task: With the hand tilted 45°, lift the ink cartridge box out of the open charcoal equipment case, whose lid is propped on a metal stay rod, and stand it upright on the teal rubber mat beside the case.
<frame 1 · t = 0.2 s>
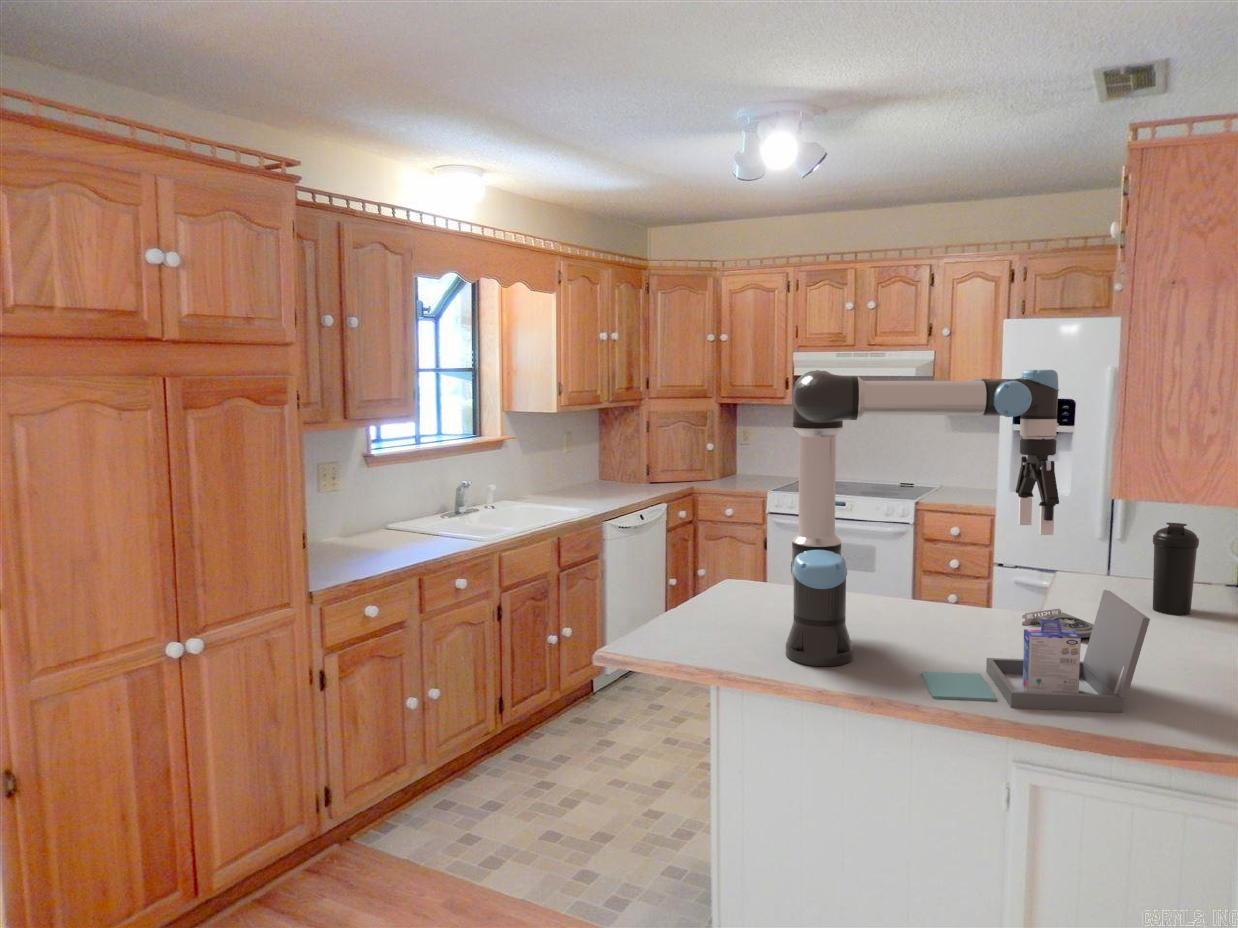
hand: (1035, 529, 204), 28 cm above the counter, tool pointing down, fingers open, 13 cm apart
teal mat: (956, 686, 183), on the counter
water bottle: (1171, 611, 233), on the counter
equipment case: (1049, 690, 180), on the counter
graphics card: (1063, 633, 218), on the counter
ink cartridge box: (1049, 691, 180), resting in equipment case
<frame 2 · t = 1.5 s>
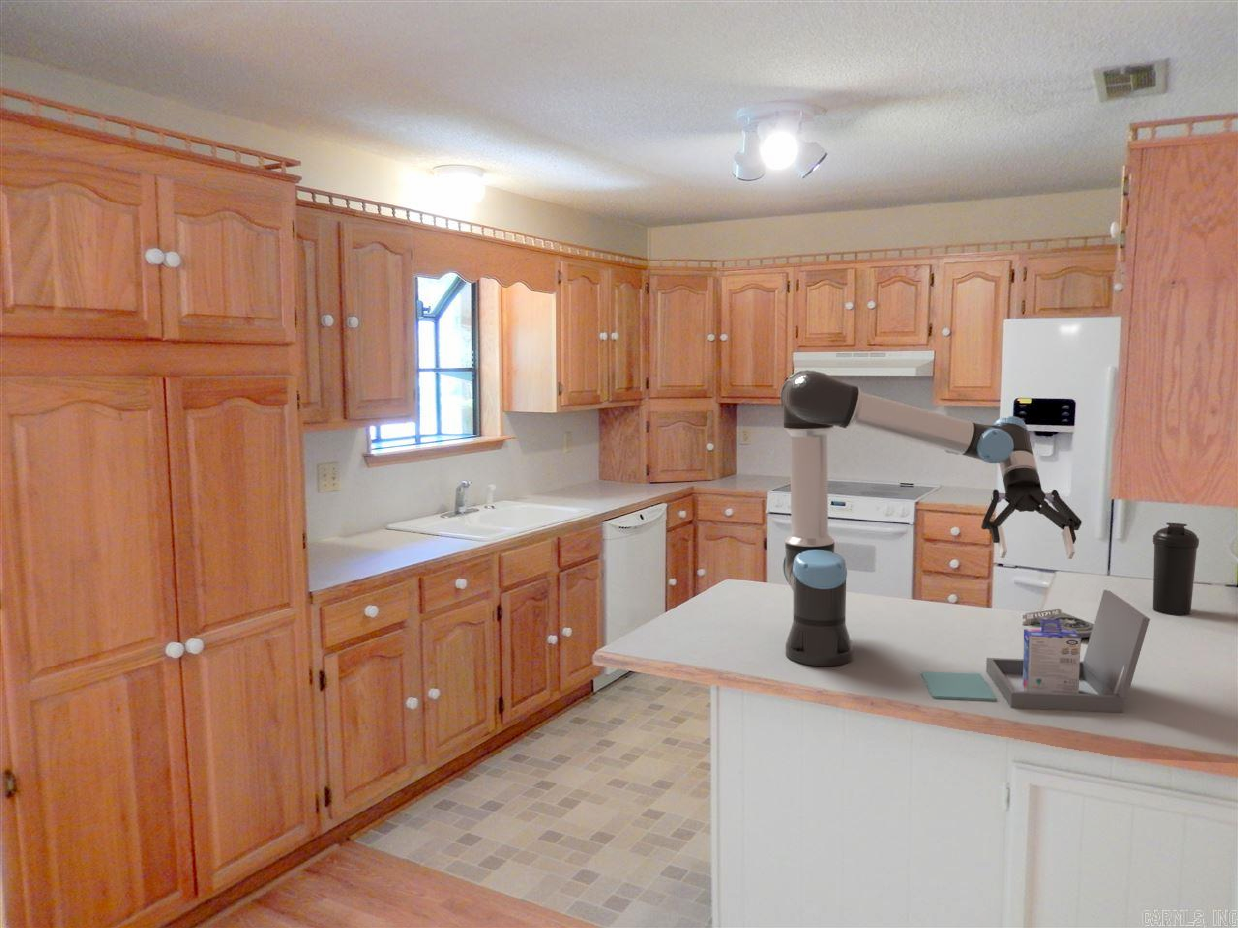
hand: (1037, 555, 189), 25 cm above the counter, tool tilted 45°, fingers open, 13 cm apart
nothing on the counter moved.
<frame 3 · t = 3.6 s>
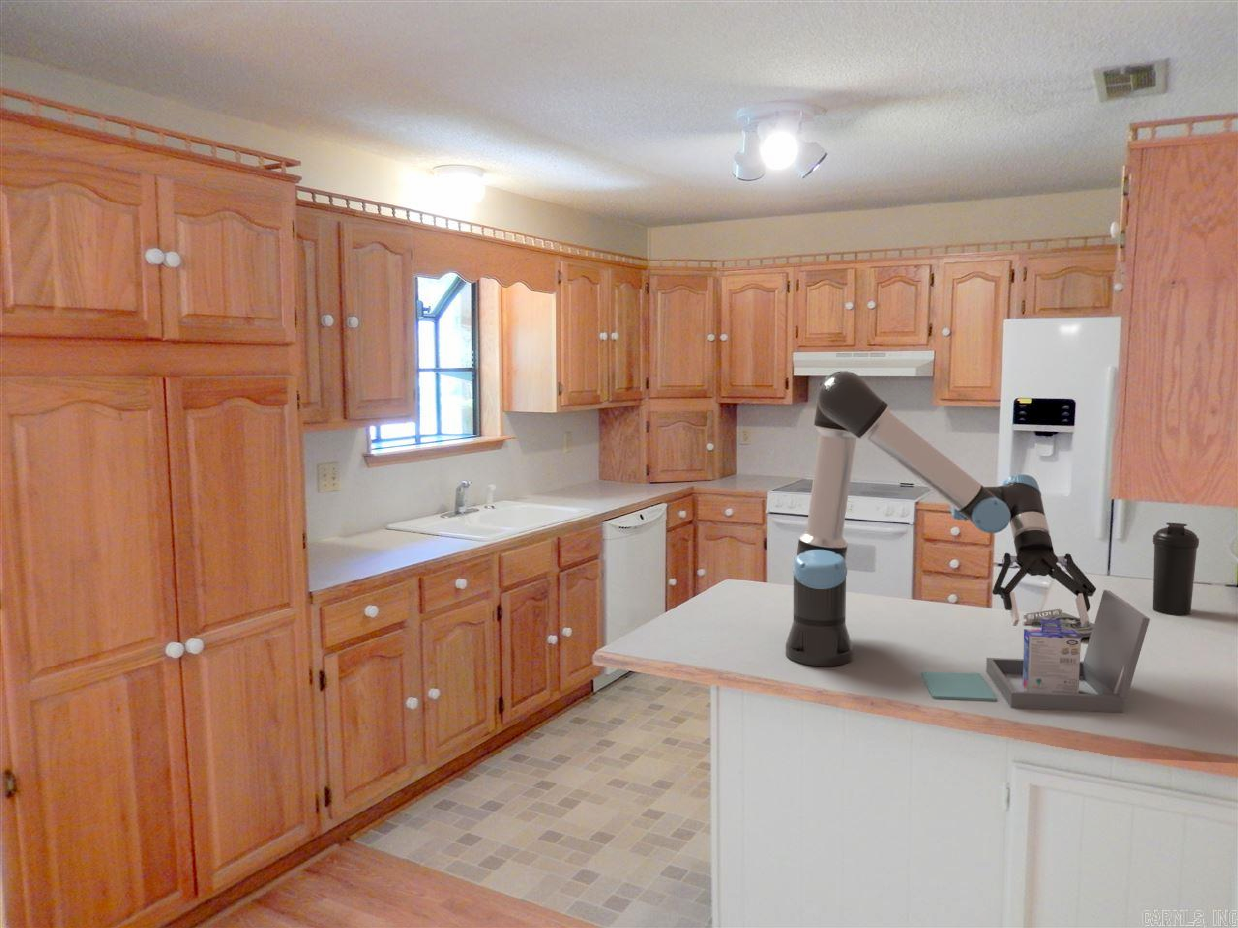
hand: (1050, 623, 184), 12 cm above the counter, tool tilted 45°, fingers open, 13 cm apart
nothing on the counter moved.
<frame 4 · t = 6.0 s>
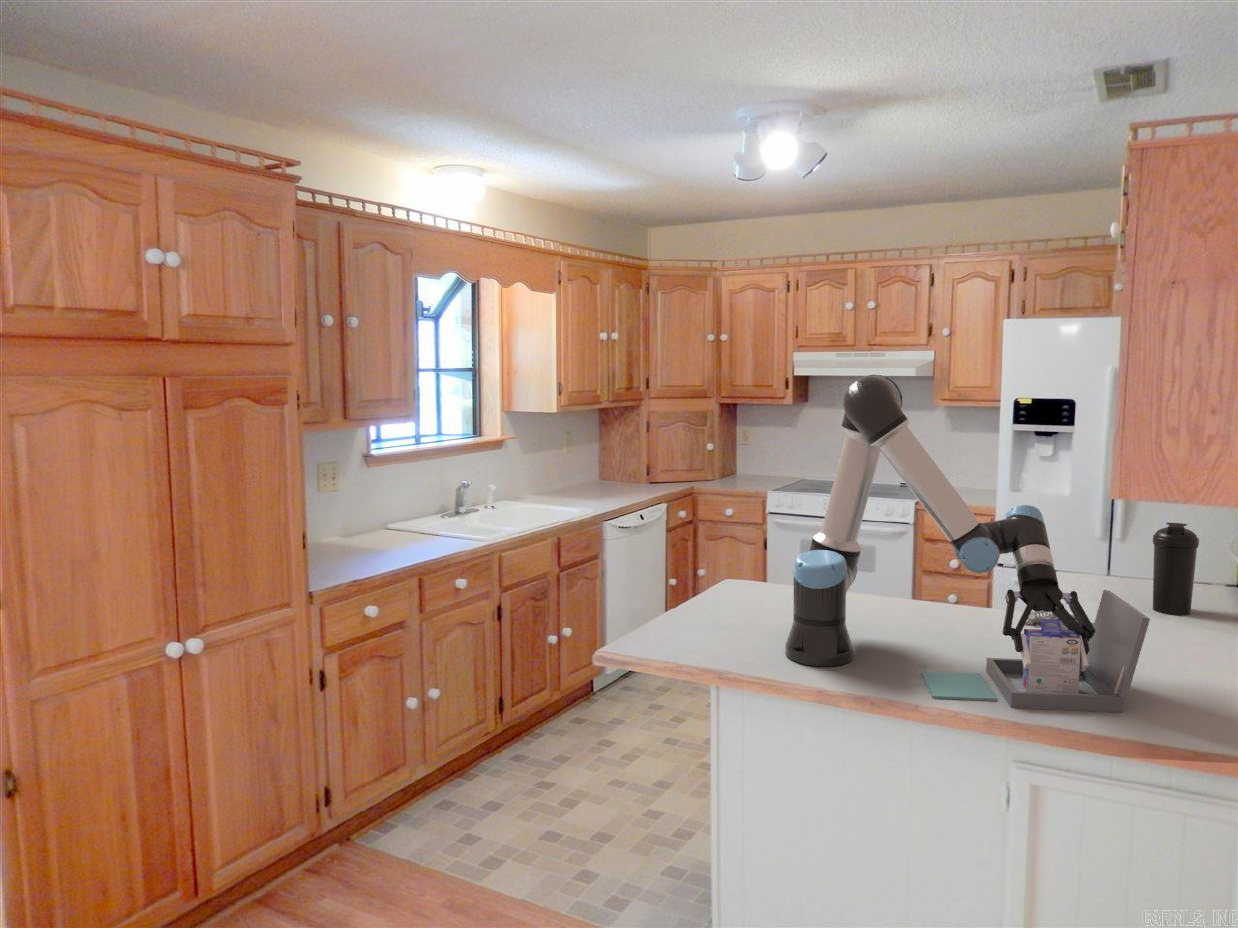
hand: (1055, 667, 176), 6 cm above the counter, tool tilted 45°, fingers closed on ink cartridge box, 10 cm apart
ink cartridge box: (1049, 691, 180), resting in equipment case, touching gripper
everything else where it was.
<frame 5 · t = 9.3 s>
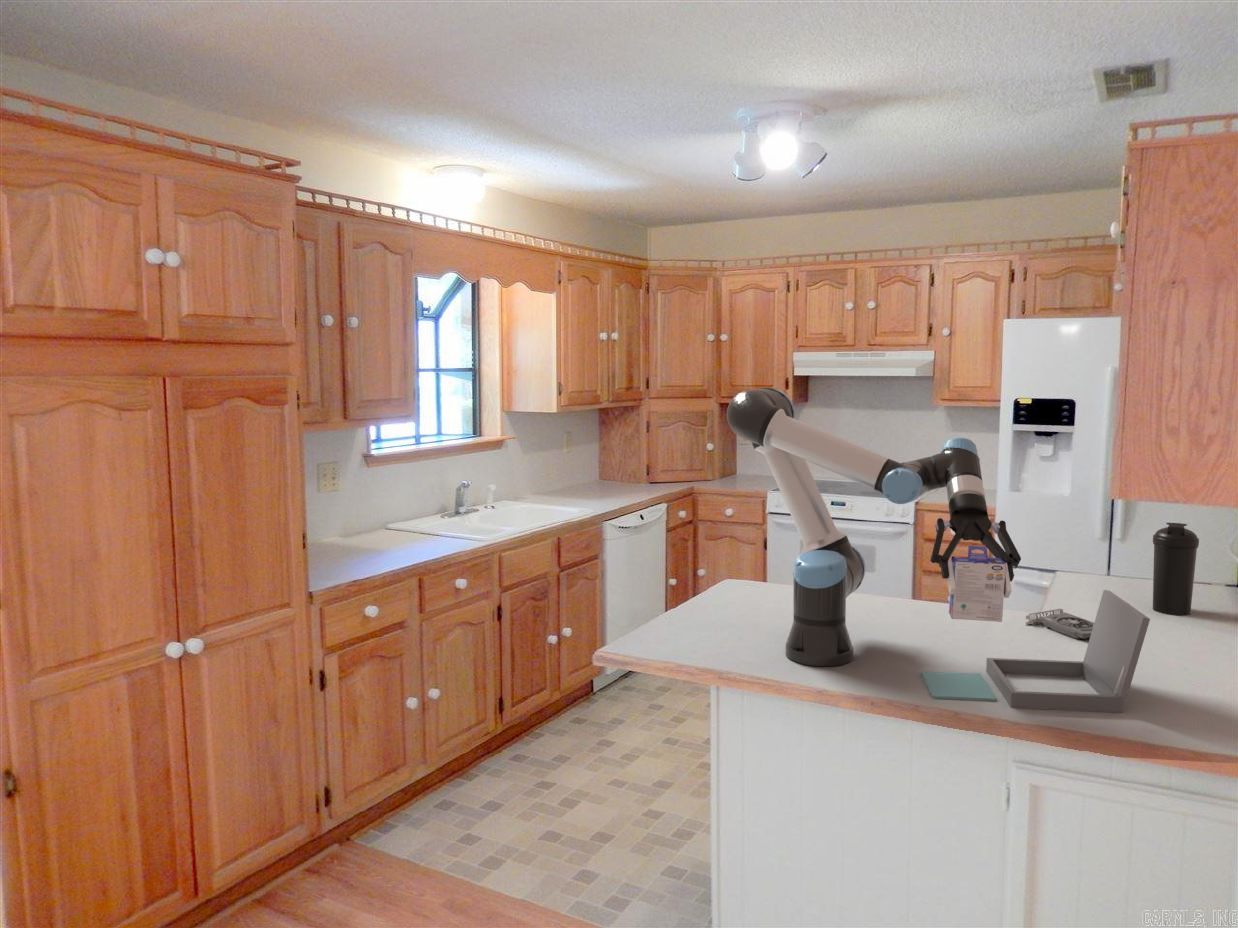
hand: (980, 593, 177), 21 cm above the counter, tool tilted 45°, fingers closed on ink cartridge box, 10 cm apart
ink cartridge box: (974, 618, 181), point 15 cm above the counter, touching gripper
everything else where it was.
when the fingers open (8 cm above the counter, at t = 12.6 s): ink cartridge box drops 1 cm, resting on teal mat.
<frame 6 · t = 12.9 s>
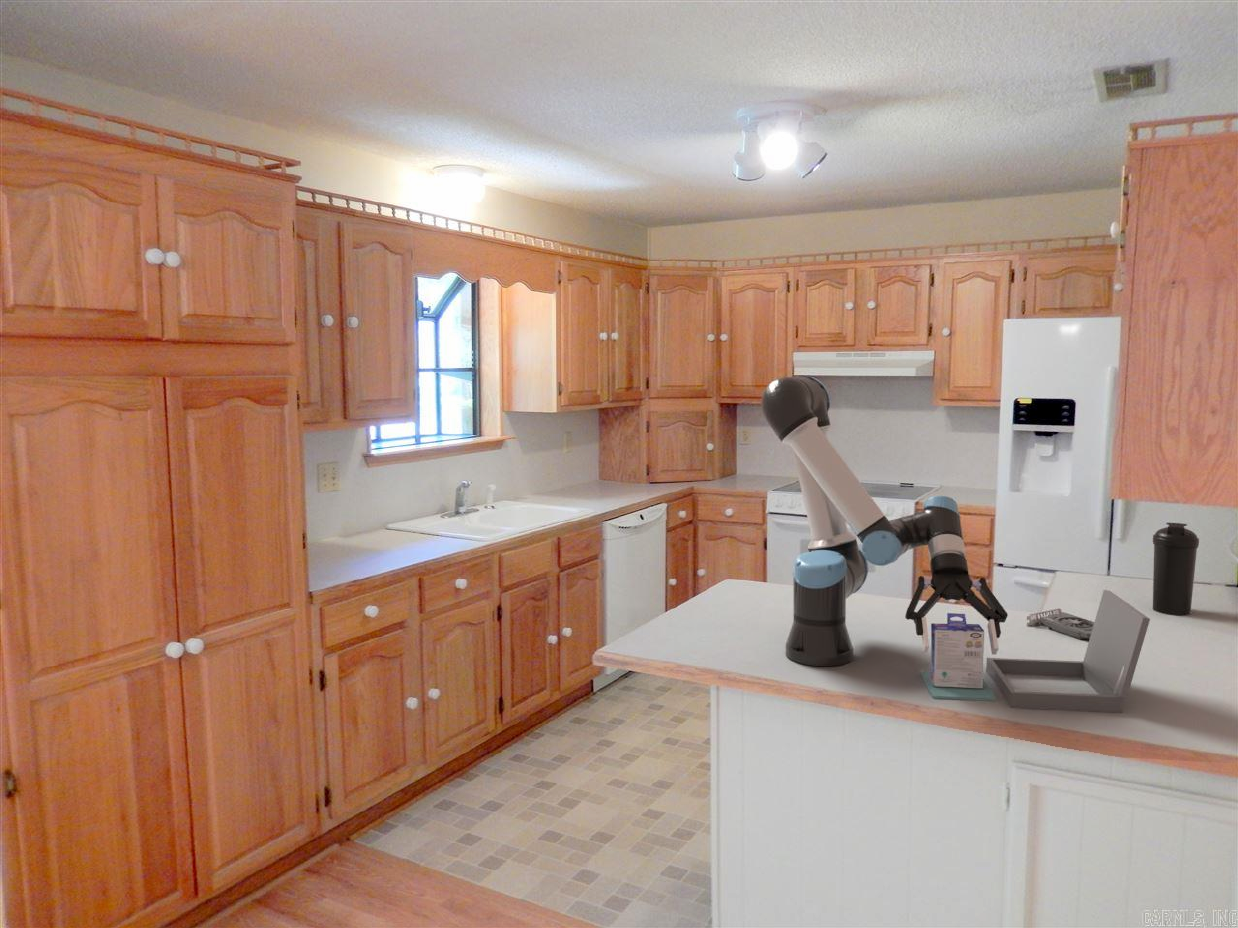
hand: (960, 650, 179), 9 cm above the counter, tool tilted 45°, fingers open, 13 cm apart
ink cartridge box: (956, 684, 183), resting on teal mat
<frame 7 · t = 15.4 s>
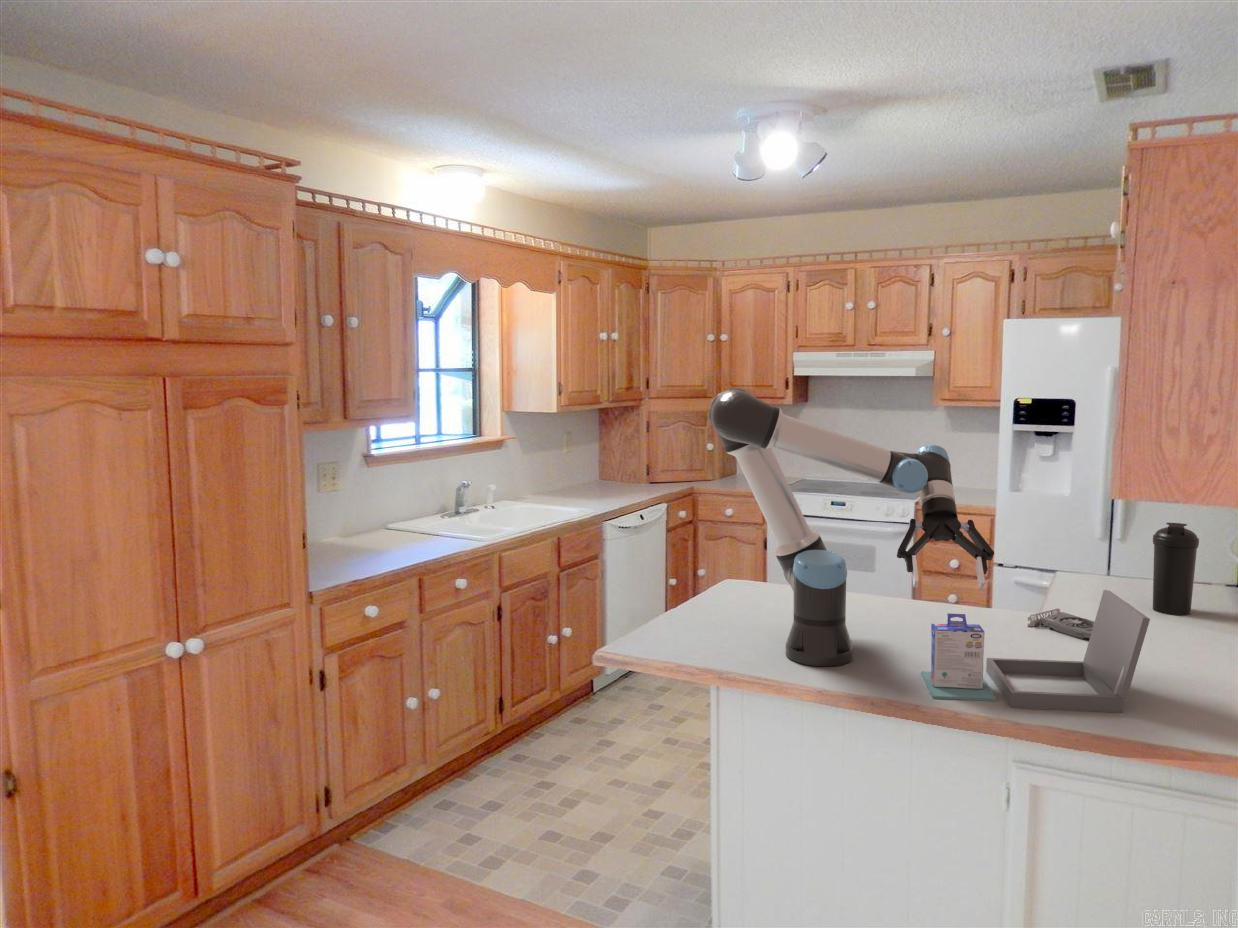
hand: (948, 585, 191), 19 cm above the counter, tool tilted 45°, fingers open, 13 cm apart
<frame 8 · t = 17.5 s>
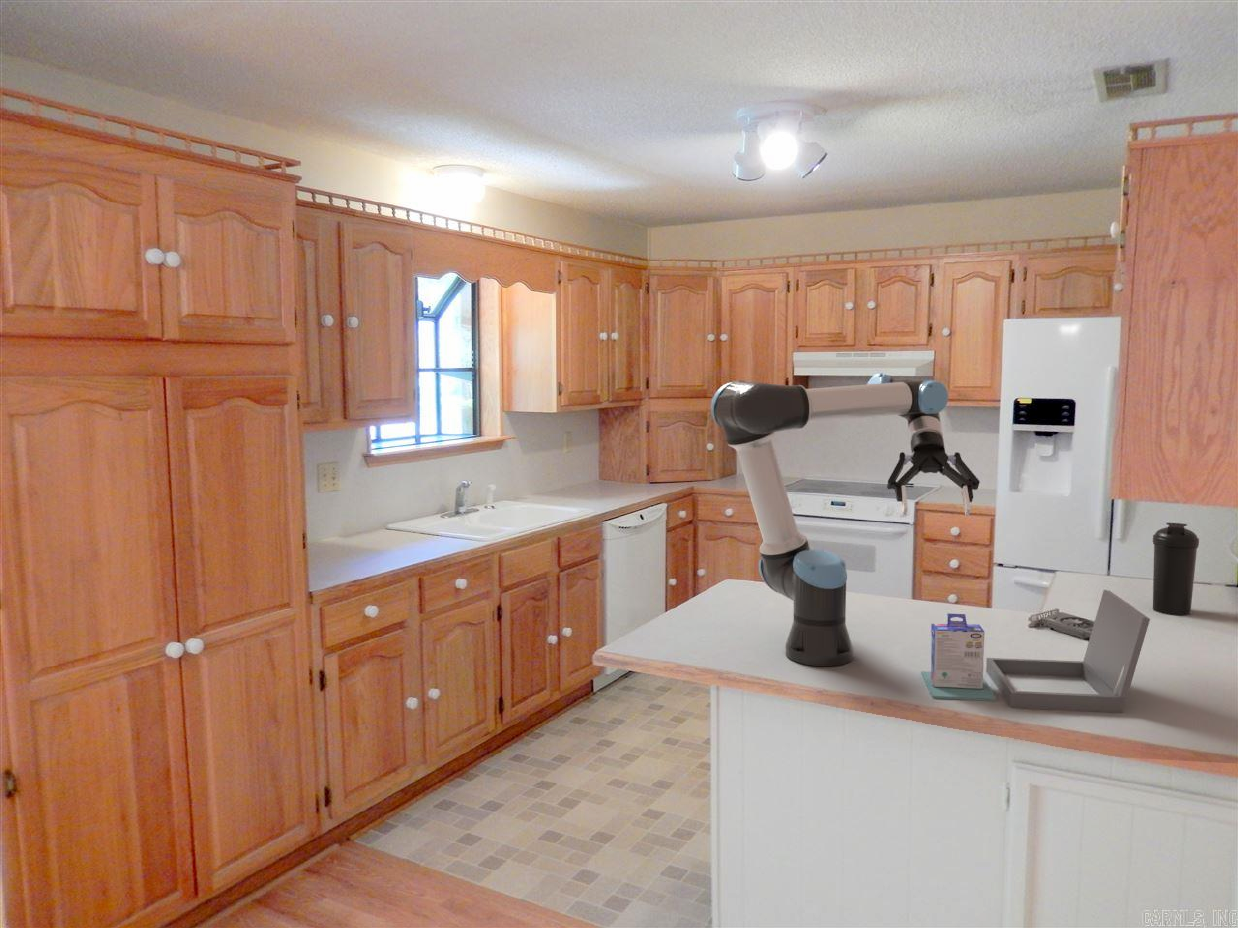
hand: (936, 512, 200), 33 cm above the counter, tool tilted 45°, fingers open, 13 cm apart
at the end: ink cartridge box inside the target area on the teal mat (0.2 cm from its centre), point 0.3 cm above the teal mat's base; ink cartridge box tilted 0°; the gripper is holding nothing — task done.
